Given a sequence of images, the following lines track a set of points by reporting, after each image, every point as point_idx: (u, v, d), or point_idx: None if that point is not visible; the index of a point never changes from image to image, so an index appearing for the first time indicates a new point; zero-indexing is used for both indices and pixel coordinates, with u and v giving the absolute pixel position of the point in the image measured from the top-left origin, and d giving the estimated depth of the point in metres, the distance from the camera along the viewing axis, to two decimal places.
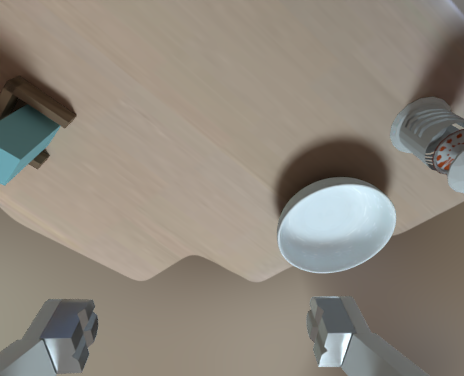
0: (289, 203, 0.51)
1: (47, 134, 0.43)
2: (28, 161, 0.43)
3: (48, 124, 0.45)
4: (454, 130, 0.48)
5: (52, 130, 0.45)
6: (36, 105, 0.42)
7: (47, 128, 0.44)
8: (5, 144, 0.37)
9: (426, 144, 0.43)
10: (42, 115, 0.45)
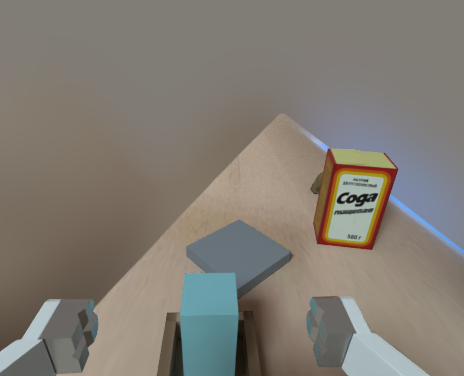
0: None
1: (234, 364, 0.30)
2: (194, 352, 0.28)
3: None
4: None
5: None
6: (251, 343, 0.33)
7: None
8: None
9: None
10: None
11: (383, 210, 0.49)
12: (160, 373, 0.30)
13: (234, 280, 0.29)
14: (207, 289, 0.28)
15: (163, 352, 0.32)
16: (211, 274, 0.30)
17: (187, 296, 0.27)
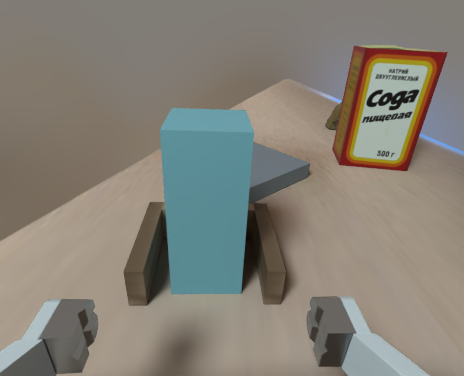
0: None
1: (244, 241, 0.20)
2: (183, 211, 0.18)
3: None
4: None
5: None
6: (266, 231, 0.24)
7: None
8: None
9: None
10: None
11: (424, 114, 0.40)
12: (134, 256, 0.20)
13: (245, 114, 0.20)
14: (204, 116, 0.19)
15: (140, 236, 0.22)
16: (211, 110, 0.20)
17: (174, 119, 0.18)
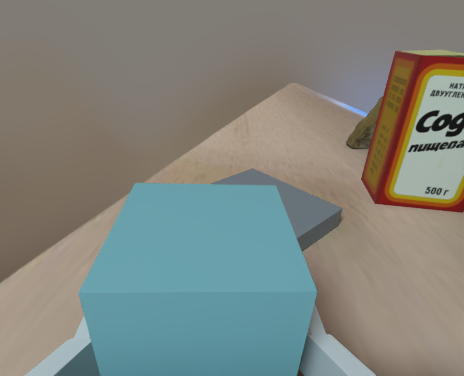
0: None
1: None
2: None
3: None
4: None
5: None
6: None
7: None
8: None
9: None
10: None
11: None
12: None
13: (278, 199, 0.10)
14: (197, 216, 0.09)
15: None
16: (210, 186, 0.11)
17: (128, 233, 0.08)
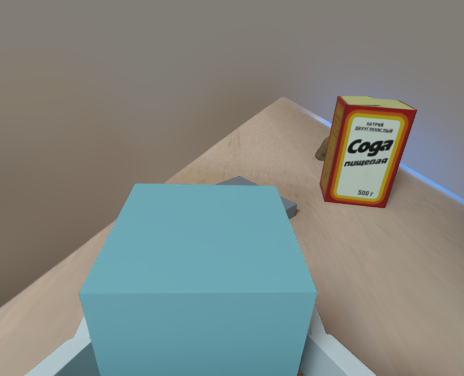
0: None
1: None
2: None
3: None
4: None
5: None
6: None
7: None
8: None
9: None
10: None
11: (398, 160, 0.45)
12: None
13: (278, 200, 0.10)
14: (197, 216, 0.09)
15: None
16: (210, 187, 0.11)
17: (129, 234, 0.08)
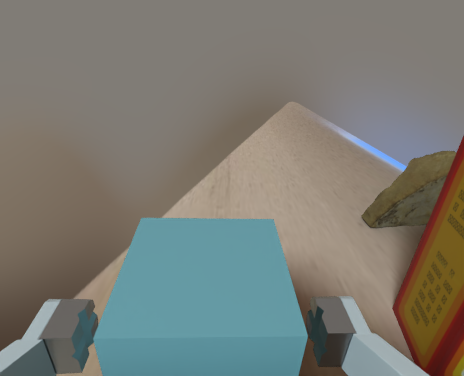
0: None
1: None
2: None
3: None
4: None
5: None
6: None
7: None
8: None
9: None
10: None
11: None
12: None
13: (274, 235, 0.11)
14: (199, 254, 0.10)
15: None
16: (211, 221, 0.11)
17: (136, 275, 0.09)
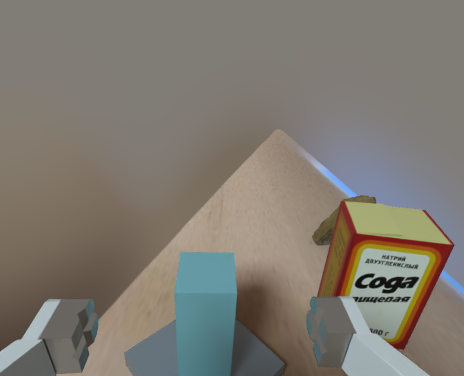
0: None
1: None
2: (188, 335, 0.26)
3: None
4: None
5: None
6: None
7: None
8: None
9: None
10: None
11: (425, 300, 0.33)
12: None
13: (233, 260, 0.28)
14: (204, 267, 0.27)
15: None
16: (209, 254, 0.28)
17: (183, 274, 0.26)
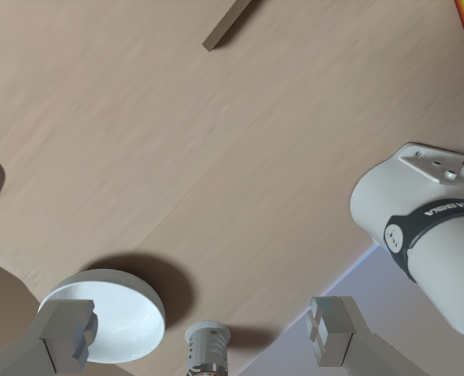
0: (130, 279, 0.49)
1: None
2: None
3: None
4: None
5: None
6: (231, 16, 0.34)
7: None
8: None
9: (209, 361, 0.55)
10: None
11: None
12: None
13: None
14: None
15: None
16: None
17: None
